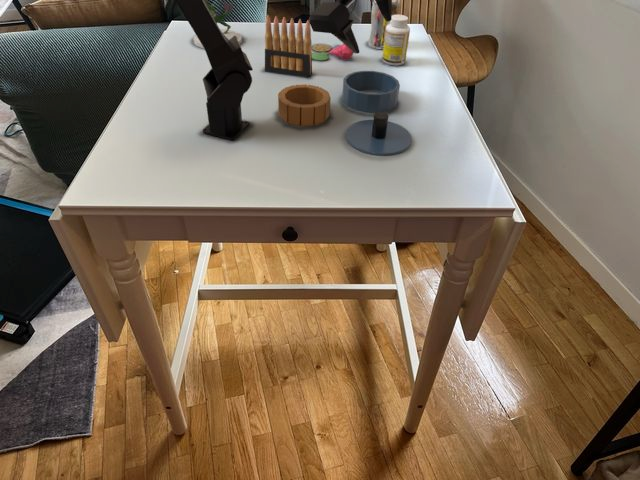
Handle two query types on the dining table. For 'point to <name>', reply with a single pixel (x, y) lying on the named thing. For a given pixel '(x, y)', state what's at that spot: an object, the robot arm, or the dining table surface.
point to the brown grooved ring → (304, 105)
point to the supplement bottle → (396, 40)
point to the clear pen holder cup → (379, 24)
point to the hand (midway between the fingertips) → (373, 36)
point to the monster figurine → (226, 32)
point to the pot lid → (378, 136)
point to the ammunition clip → (288, 49)
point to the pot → (370, 100)
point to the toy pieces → (339, 51)
